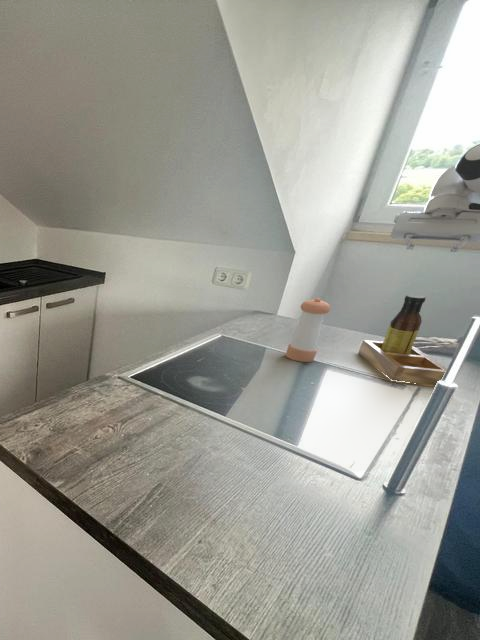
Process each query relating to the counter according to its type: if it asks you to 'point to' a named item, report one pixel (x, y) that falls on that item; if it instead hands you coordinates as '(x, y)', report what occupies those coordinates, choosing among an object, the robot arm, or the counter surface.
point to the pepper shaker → (308, 331)
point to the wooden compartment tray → (403, 364)
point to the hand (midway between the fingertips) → (431, 249)
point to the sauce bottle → (404, 326)
